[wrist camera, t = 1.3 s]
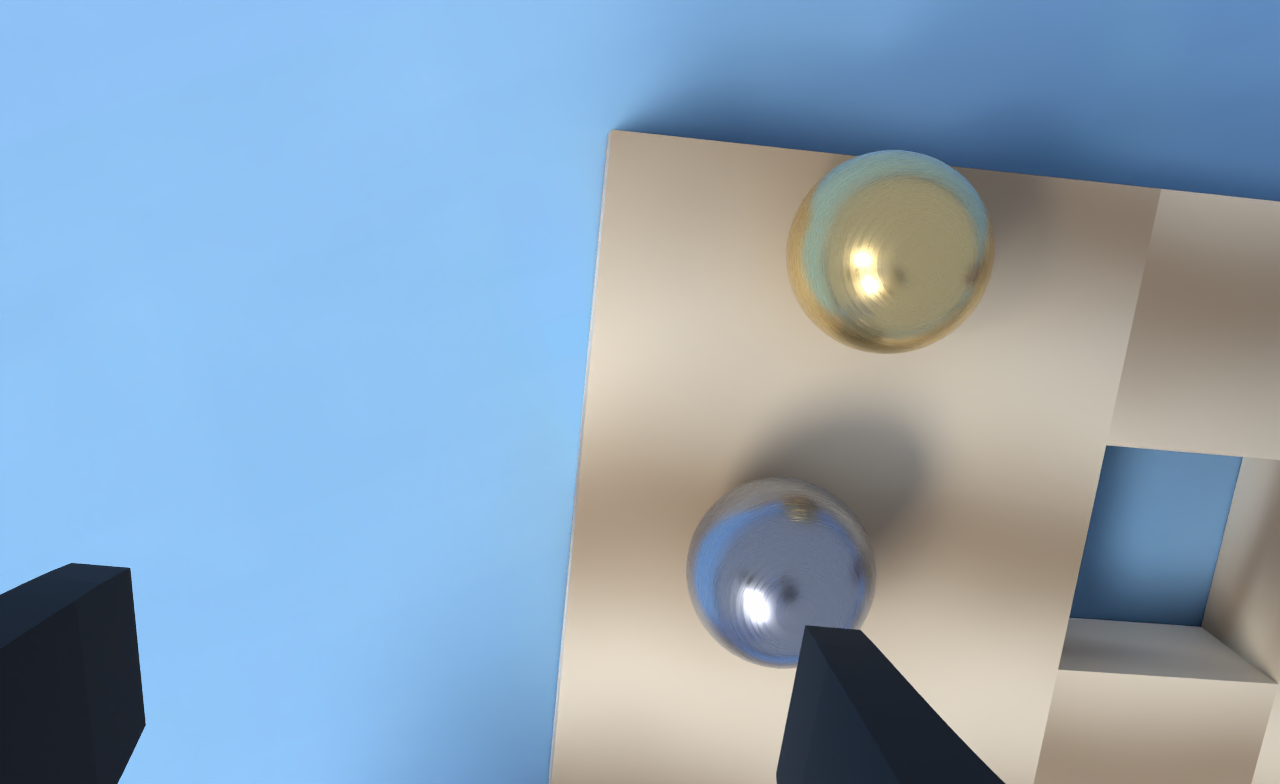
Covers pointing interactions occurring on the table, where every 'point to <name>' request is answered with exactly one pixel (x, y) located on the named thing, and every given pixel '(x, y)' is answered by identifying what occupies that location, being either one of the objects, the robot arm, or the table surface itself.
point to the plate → (923, 472)
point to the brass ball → (890, 252)
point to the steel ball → (778, 568)
